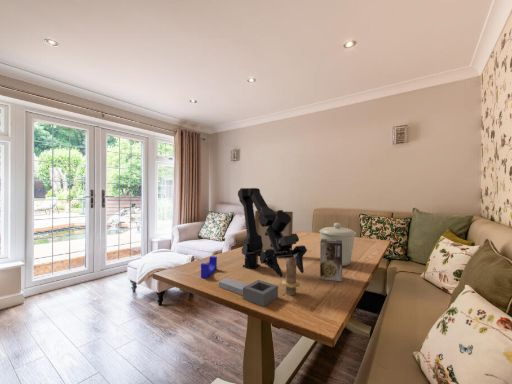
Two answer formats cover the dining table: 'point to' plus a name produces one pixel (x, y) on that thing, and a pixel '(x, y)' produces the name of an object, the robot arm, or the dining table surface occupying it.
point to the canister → (340, 234)
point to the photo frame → (262, 230)
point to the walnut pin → (291, 276)
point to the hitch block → (252, 290)
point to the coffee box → (331, 259)
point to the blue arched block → (208, 267)
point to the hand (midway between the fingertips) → (292, 274)
